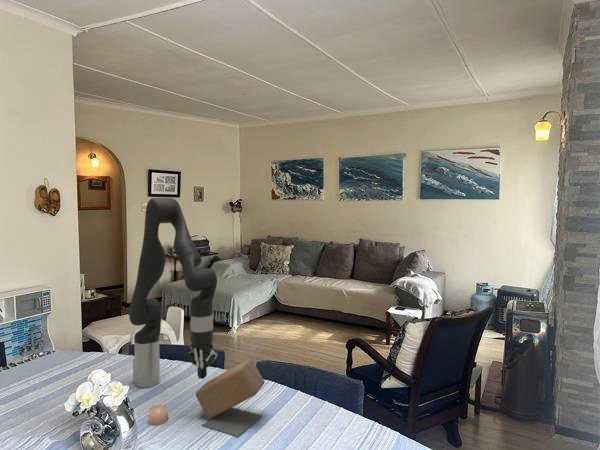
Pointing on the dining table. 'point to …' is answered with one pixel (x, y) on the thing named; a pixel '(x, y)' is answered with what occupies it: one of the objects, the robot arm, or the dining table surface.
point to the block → (230, 388)
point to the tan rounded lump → (158, 414)
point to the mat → (232, 421)
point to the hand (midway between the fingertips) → (202, 377)
